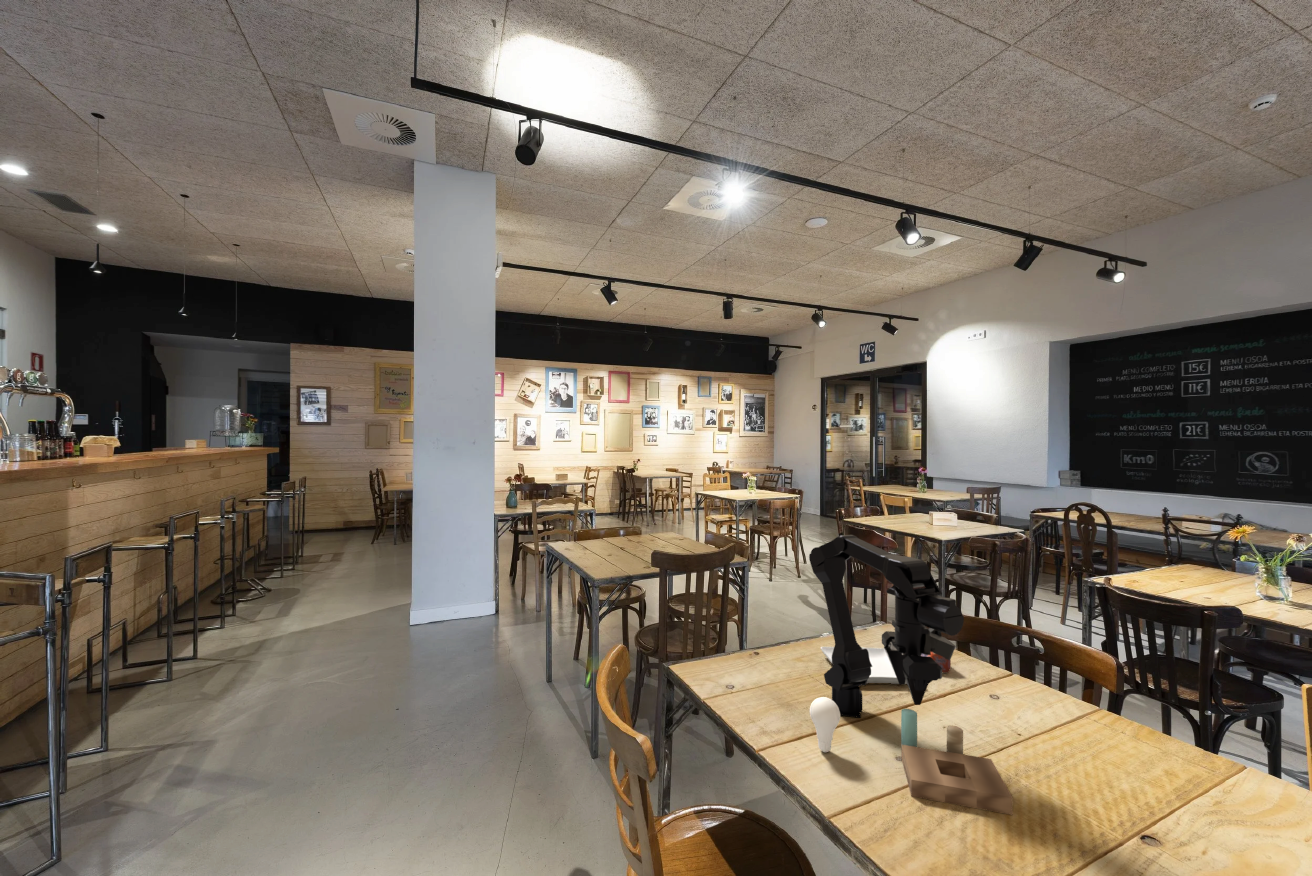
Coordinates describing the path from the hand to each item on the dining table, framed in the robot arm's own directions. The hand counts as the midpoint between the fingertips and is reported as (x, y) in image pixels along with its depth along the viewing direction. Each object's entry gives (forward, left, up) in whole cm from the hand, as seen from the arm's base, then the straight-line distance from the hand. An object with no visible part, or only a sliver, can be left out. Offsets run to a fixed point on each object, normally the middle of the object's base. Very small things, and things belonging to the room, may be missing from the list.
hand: (909, 694), depth 112 cm
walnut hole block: (+6, -10, -12) cm, 17 cm away
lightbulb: (-17, -6, -12) cm, 22 cm away
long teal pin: (0, 0, -12) cm, 12 cm away
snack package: (+12, +55, -12) cm, 58 cm away
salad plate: (-5, +40, -12) cm, 42 cm away
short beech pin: (+9, +2, -12) cm, 15 cm away
